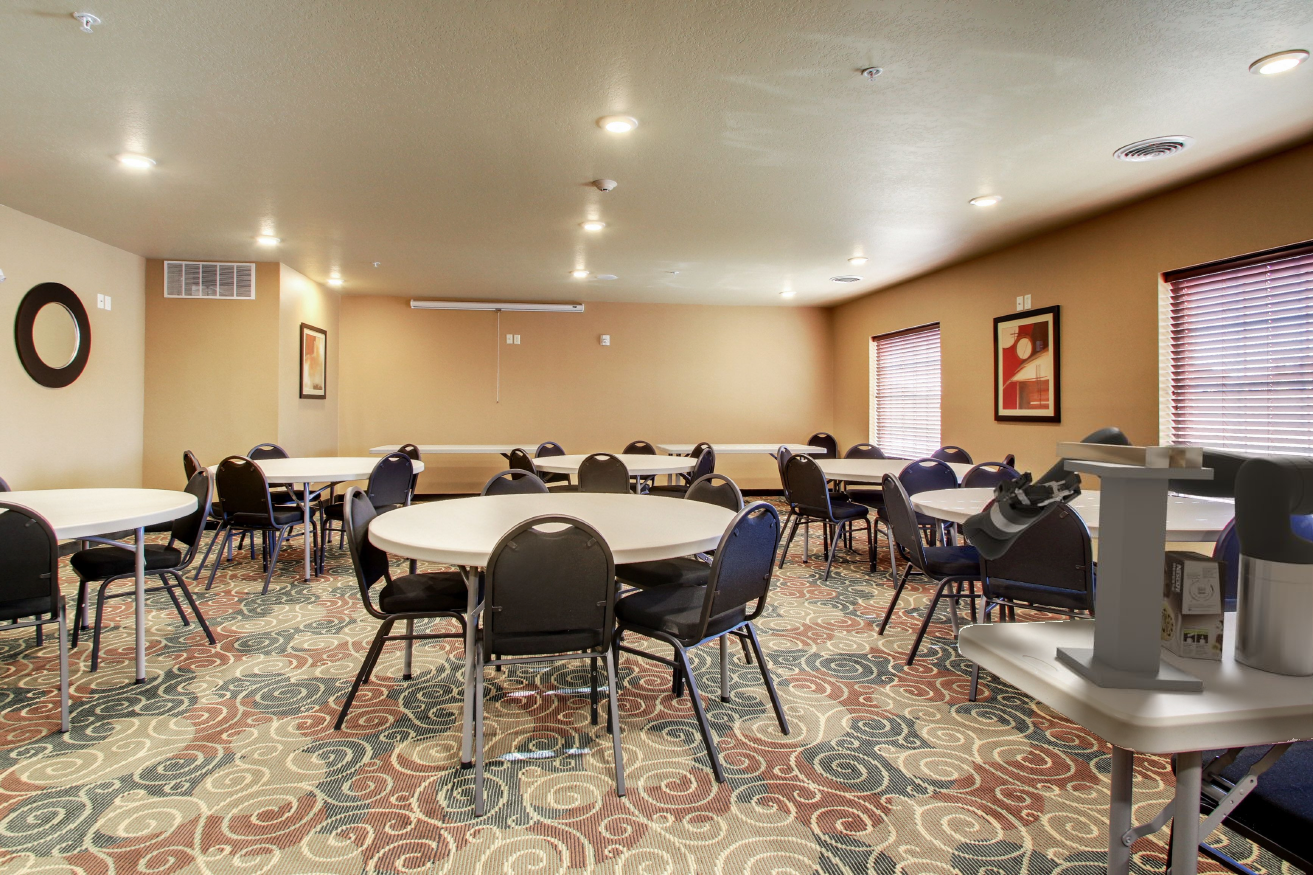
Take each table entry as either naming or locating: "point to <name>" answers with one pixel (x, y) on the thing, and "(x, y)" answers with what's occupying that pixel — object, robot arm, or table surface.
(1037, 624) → the table surface
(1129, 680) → the stand
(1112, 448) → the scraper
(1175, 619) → the coffee box
